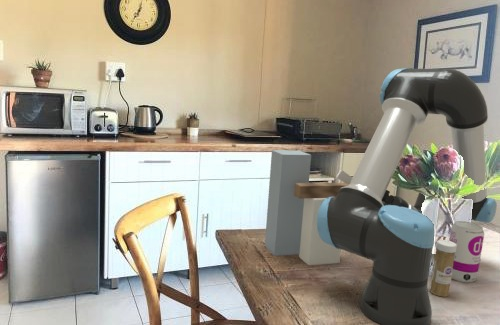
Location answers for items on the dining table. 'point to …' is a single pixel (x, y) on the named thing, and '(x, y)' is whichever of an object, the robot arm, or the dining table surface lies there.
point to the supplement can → (466, 250)
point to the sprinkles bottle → (443, 267)
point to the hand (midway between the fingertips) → (350, 178)
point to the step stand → (294, 212)
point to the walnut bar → (317, 190)
